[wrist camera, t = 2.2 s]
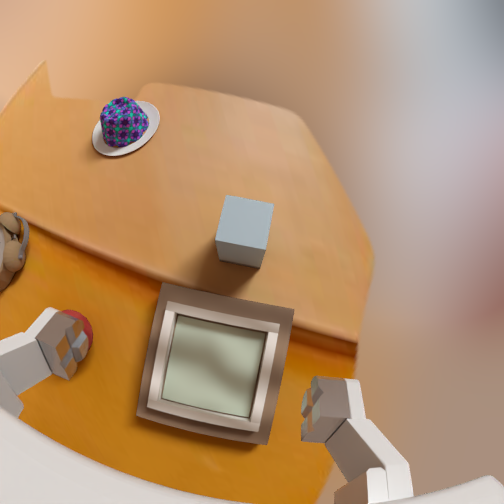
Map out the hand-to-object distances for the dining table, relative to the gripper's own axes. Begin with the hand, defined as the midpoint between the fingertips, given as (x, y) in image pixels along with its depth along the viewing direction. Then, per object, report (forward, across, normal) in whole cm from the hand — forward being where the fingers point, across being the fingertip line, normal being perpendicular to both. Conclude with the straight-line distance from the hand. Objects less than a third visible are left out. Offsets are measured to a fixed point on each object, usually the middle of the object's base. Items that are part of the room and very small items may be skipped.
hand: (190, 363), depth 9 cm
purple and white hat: (+38, +23, -2) cm, 45 cm away
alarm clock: (+20, +38, +16) cm, 46 cm away
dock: (+16, +1, +20) cm, 25 cm away
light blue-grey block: (+27, 0, +9) cm, 28 cm away
